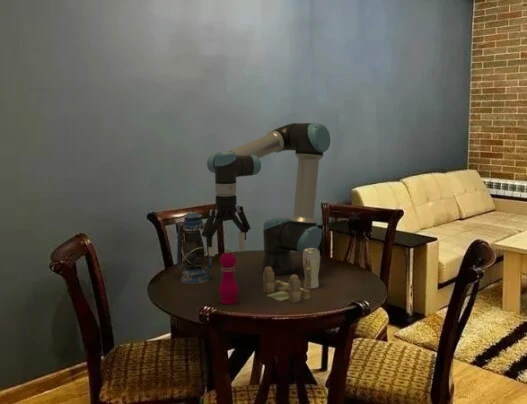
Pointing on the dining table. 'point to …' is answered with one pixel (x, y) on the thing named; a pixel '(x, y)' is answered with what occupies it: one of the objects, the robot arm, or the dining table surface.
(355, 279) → the dining table surface
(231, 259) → the pepper mill
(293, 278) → the wooden toy blocks
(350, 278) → the dining table surface
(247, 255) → the dining table surface
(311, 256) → the beer glass
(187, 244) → the lantern
